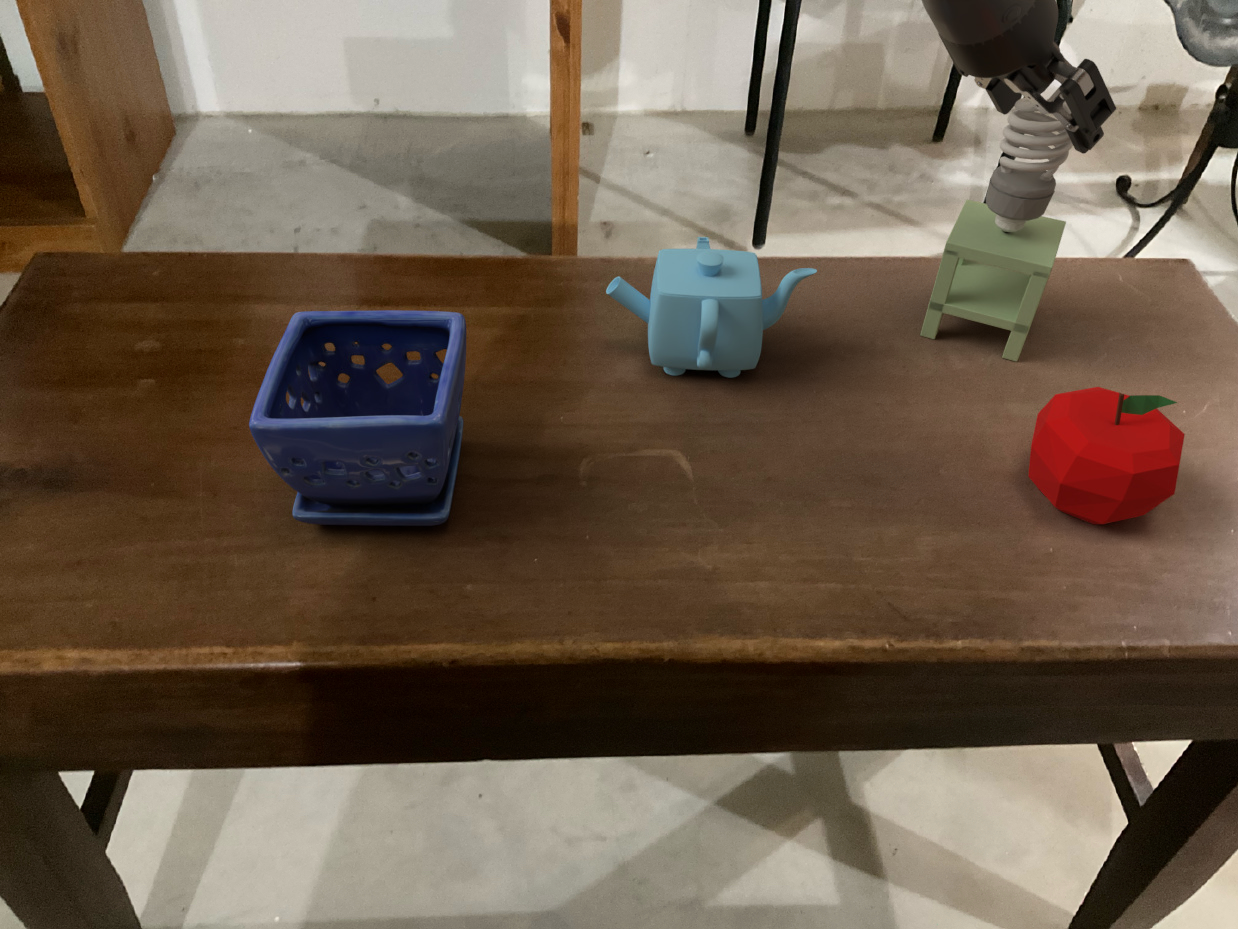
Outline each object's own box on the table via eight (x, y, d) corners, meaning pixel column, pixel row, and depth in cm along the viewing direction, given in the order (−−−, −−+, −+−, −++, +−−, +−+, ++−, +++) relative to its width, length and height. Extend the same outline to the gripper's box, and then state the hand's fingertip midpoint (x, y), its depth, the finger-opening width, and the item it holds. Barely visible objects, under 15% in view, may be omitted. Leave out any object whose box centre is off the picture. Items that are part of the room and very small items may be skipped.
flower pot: (464, 546, 70) (447, 422, 62) (281, 547, 70) (240, 421, 61) (480, 428, 80) (467, 307, 71) (320, 428, 79) (289, 306, 71)
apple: (1027, 536, 72) (1072, 435, 65) (1001, 443, 79) (1040, 344, 73) (1173, 550, 71) (1235, 449, 64) (1133, 454, 79) (1184, 356, 72)
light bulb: (972, 242, 84) (1013, 106, 76) (974, 212, 88) (1014, 81, 80) (1039, 252, 83) (1088, 116, 75) (1039, 222, 87) (1085, 90, 78)
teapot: (602, 392, 83) (602, 293, 77) (609, 303, 94) (610, 208, 87) (808, 400, 83) (827, 301, 76) (793, 309, 93) (808, 215, 87)
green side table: (1032, 313, 94) (1066, 221, 87) (1017, 362, 88) (1052, 267, 81) (940, 290, 97) (966, 198, 90) (919, 335, 91) (946, 241, 84)
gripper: (1107, -24, 62) (1155, 117, 74) (952, -77, 71) (1017, 56, 83) (1022, 72, 63) (1083, 196, 75) (882, 8, 72) (956, 127, 84)
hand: (1049, 123), depth 79 cm, fingers open, 8 cm apart
